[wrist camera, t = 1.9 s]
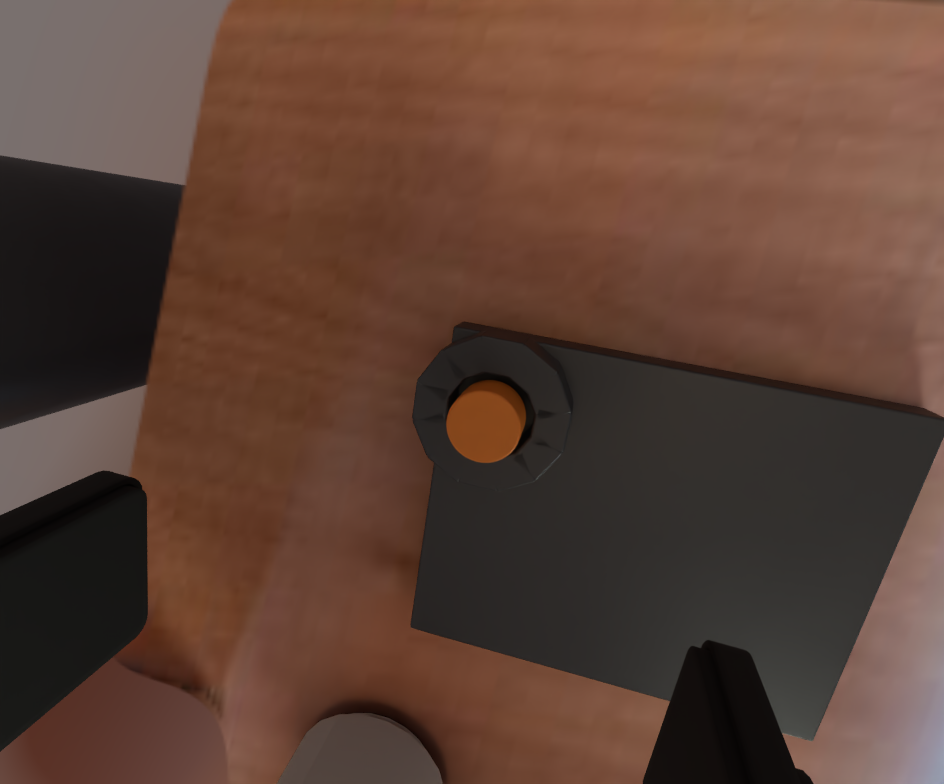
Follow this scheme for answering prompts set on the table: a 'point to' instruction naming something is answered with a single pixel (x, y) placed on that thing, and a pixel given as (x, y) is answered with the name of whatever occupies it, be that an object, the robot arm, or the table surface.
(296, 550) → the table surface
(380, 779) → the can
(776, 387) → the scale
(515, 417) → the button
